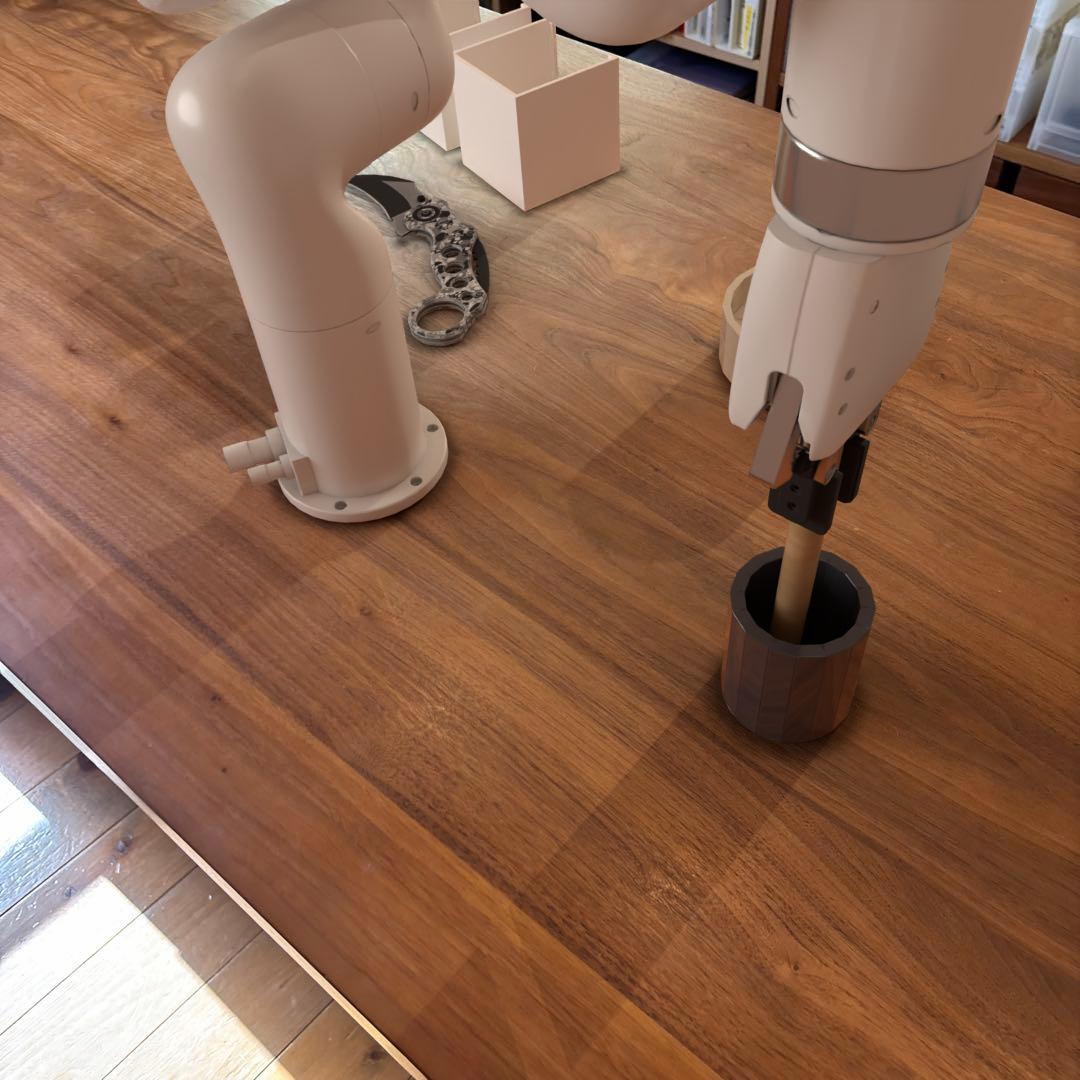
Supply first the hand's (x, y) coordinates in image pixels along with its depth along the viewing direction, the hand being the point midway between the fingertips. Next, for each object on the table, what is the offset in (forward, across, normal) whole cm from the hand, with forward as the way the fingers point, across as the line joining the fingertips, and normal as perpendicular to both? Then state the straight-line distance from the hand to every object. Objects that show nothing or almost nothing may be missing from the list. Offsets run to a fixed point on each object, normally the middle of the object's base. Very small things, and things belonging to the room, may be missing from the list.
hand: (811, 502), depth 54 cm
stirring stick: (+13, 0, 0) cm, 13 cm away
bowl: (+17, -27, -14) cm, 34 cm away
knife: (+17, -22, -49) cm, 56 cm away
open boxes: (+17, -41, -56) cm, 71 cm away
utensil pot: (+16, 0, +1) cm, 16 cm away
